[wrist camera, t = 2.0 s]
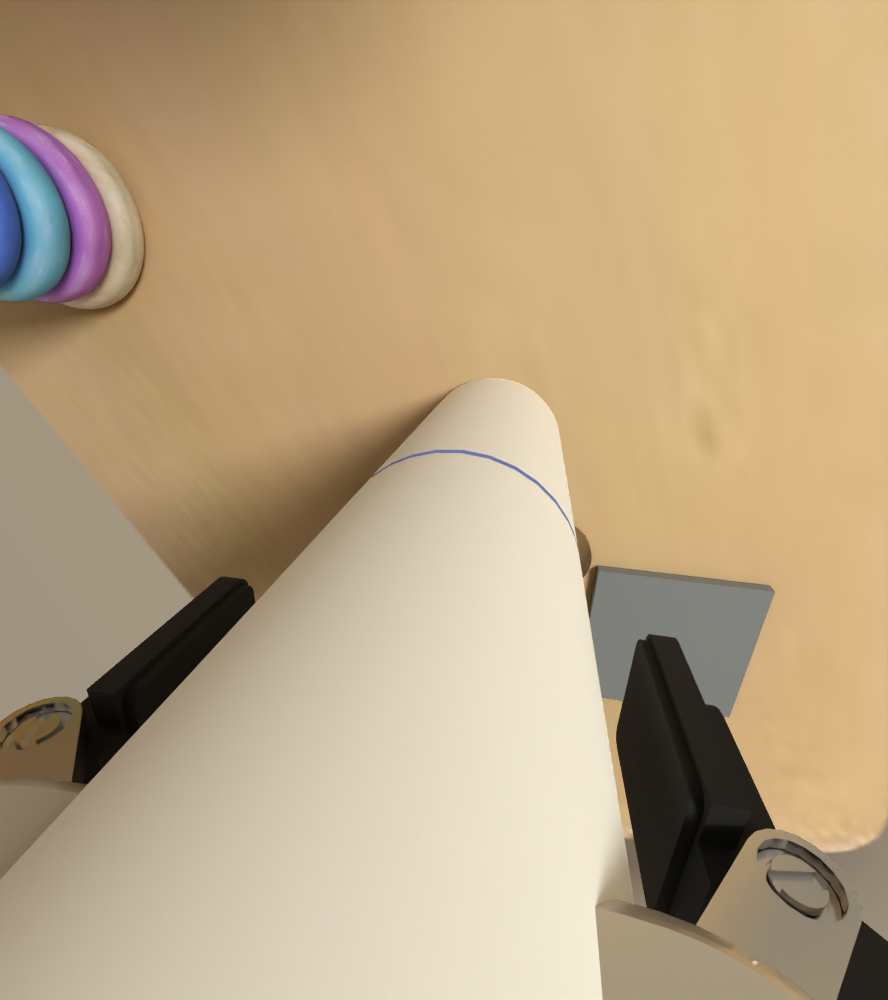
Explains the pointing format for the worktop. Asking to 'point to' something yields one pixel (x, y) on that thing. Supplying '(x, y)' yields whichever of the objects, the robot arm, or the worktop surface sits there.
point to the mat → (677, 627)
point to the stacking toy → (64, 220)
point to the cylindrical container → (362, 764)
